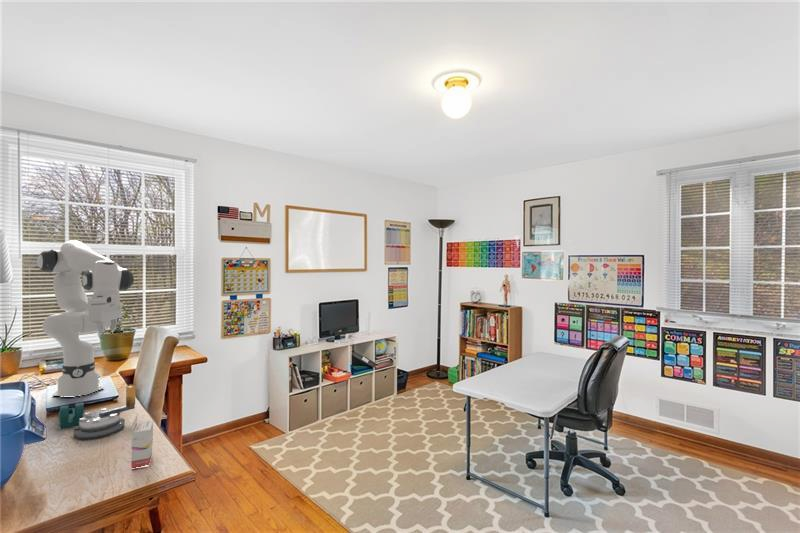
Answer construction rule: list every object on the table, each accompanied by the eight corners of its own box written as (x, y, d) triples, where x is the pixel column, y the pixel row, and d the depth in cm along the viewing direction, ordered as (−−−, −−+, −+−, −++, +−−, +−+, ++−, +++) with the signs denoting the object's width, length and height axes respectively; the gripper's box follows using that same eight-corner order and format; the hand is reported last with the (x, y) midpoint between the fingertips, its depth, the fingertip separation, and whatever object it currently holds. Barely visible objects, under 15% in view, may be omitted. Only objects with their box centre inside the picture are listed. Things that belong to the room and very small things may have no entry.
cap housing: (75, 428, 145) (75, 422, 145) (124, 419, 154) (124, 413, 154) (71, 444, 133) (71, 437, 133) (124, 433, 142) (124, 427, 142)
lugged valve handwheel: (86, 434, 135) (86, 401, 135) (74, 426, 142) (74, 394, 142) (141, 418, 150) (141, 388, 150) (128, 411, 157) (128, 382, 156)
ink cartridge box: (150, 467, 120) (150, 420, 120) (130, 470, 117) (131, 423, 117) (153, 454, 127) (153, 410, 127) (135, 457, 125) (135, 413, 125)
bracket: (83, 425, 149) (84, 405, 149) (60, 430, 144) (60, 409, 144) (79, 411, 162) (79, 393, 162) (58, 415, 157) (58, 396, 157)
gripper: (109, 297, 173) (110, 328, 172) (85, 300, 153) (85, 335, 152) (126, 297, 174) (126, 327, 174) (103, 299, 154) (104, 333, 154)
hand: (107, 331), depth 163 cm, fingers open, 8 cm apart
